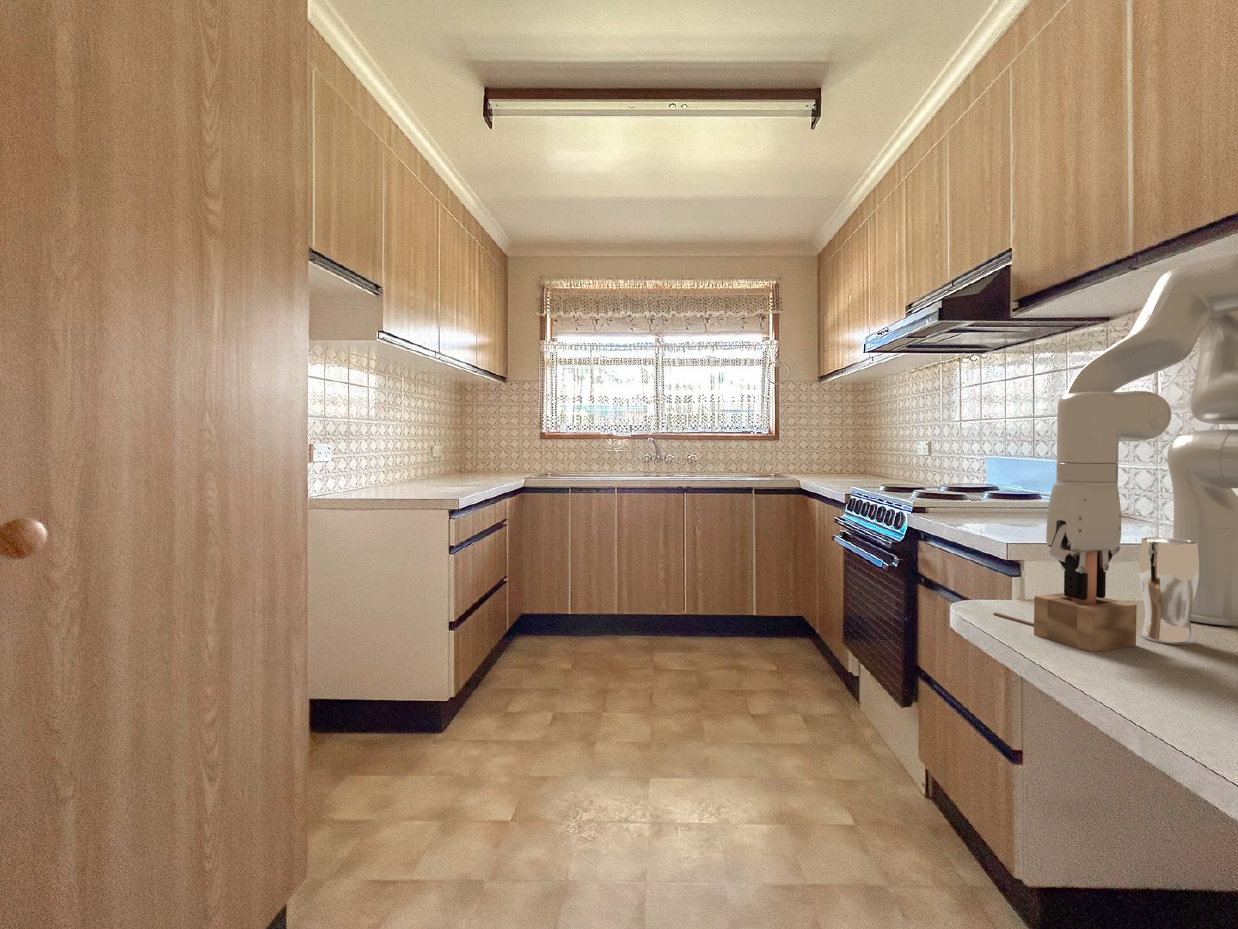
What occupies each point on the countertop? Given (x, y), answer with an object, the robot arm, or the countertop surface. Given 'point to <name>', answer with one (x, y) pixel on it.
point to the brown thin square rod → (1014, 619)
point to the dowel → (1090, 578)
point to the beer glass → (1168, 588)
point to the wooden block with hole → (1085, 622)
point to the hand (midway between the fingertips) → (1084, 595)
